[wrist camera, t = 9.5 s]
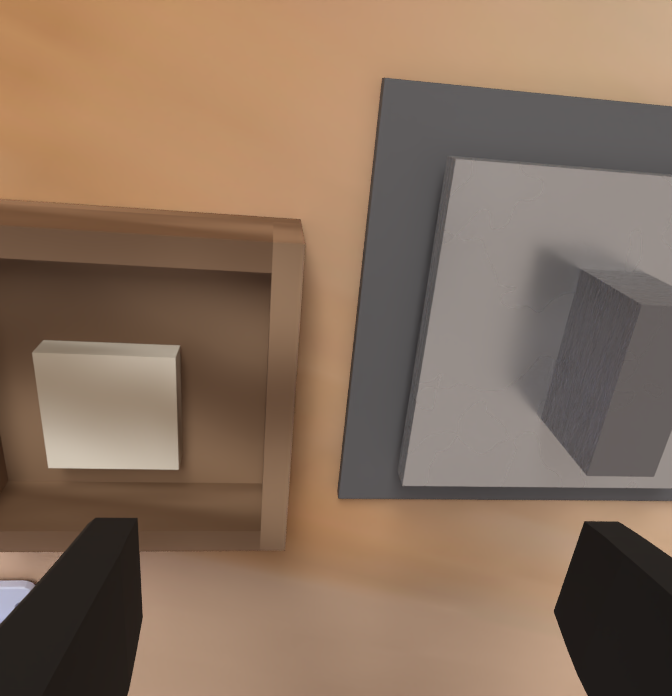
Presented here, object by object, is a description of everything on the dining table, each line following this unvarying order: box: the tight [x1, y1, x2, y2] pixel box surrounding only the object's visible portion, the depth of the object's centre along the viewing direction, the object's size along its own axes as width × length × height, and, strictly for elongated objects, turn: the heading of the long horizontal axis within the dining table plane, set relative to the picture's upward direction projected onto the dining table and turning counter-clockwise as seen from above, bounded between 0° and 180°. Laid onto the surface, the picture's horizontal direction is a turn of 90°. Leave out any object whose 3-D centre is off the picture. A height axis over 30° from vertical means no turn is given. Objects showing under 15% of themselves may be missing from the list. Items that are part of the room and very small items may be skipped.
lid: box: [398, 156, 672, 488], centre depth 17 cm, size 10×10×5 cm
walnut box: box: [0, 199, 305, 552], centre depth 17 cm, size 10×10×3 cm
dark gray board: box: [337, 78, 672, 501], centre depth 19 cm, size 14×14×1 cm
